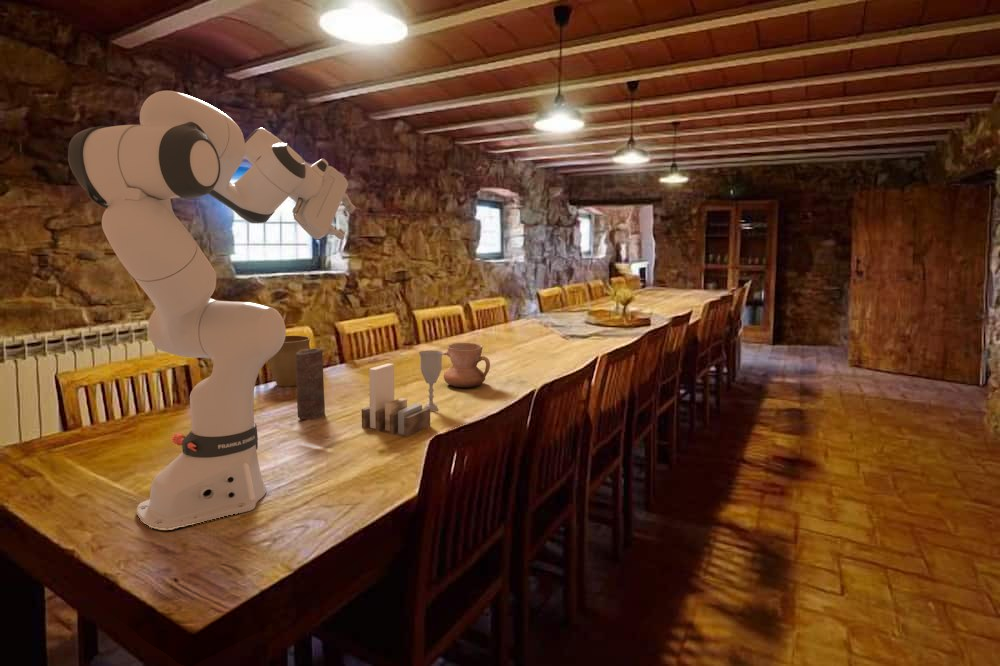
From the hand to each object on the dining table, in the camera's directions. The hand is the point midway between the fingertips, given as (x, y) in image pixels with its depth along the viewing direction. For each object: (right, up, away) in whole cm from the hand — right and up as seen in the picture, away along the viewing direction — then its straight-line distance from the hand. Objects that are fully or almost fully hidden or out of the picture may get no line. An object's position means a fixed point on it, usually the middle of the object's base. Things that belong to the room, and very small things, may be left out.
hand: (348, 223), depth 150 cm
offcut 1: (+11, -53, +8) cm, 55 cm away
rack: (+11, -54, +8) cm, 56 cm away
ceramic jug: (+27, -46, +57) cm, 78 cm away
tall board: (+7, -53, +10) cm, 54 cm away
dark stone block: (-15, -52, +17) cm, 57 cm away
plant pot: (-34, -46, +54) cm, 78 cm away
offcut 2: (+15, -53, +6) cm, 56 cm away
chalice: (+18, -52, +25) cm, 60 cm away
